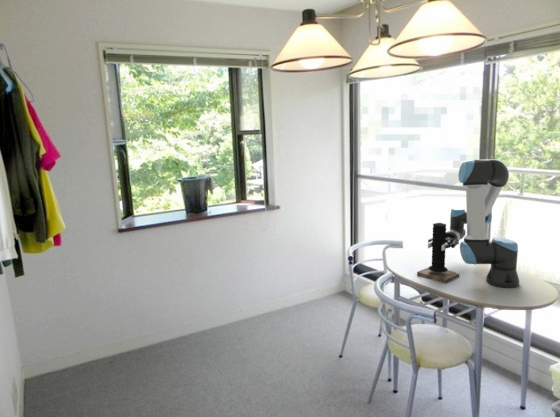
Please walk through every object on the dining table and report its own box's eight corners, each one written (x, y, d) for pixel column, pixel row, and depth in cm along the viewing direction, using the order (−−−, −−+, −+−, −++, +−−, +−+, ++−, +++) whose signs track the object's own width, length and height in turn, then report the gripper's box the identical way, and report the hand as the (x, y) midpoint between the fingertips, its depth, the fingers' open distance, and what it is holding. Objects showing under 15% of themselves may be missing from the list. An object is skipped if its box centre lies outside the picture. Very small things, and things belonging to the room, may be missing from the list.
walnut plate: (459, 276, 219) (459, 273, 219) (445, 283, 211) (445, 279, 211) (431, 269, 233) (431, 266, 232) (417, 275, 224) (417, 271, 224)
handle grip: (450, 272, 216) (444, 266, 226) (452, 224, 211) (446, 220, 221) (431, 272, 217) (426, 266, 227) (432, 225, 212) (427, 220, 222)
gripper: (468, 246, 226) (453, 256, 209) (433, 241, 239) (417, 250, 222) (468, 233, 224) (454, 243, 208) (434, 229, 238) (417, 237, 221)
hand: (435, 247), depth 215 cm, fingers closed on handle grip, 7 cm apart
